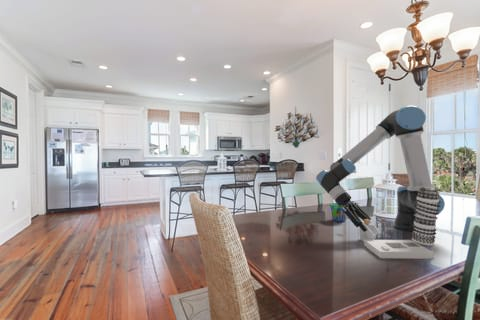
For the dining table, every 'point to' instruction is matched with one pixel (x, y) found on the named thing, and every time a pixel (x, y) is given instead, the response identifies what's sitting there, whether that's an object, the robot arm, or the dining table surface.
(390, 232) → the dining table surface
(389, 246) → the socket plate
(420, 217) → the decorative candle
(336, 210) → the snack cup
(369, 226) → the egg topped pedestal
